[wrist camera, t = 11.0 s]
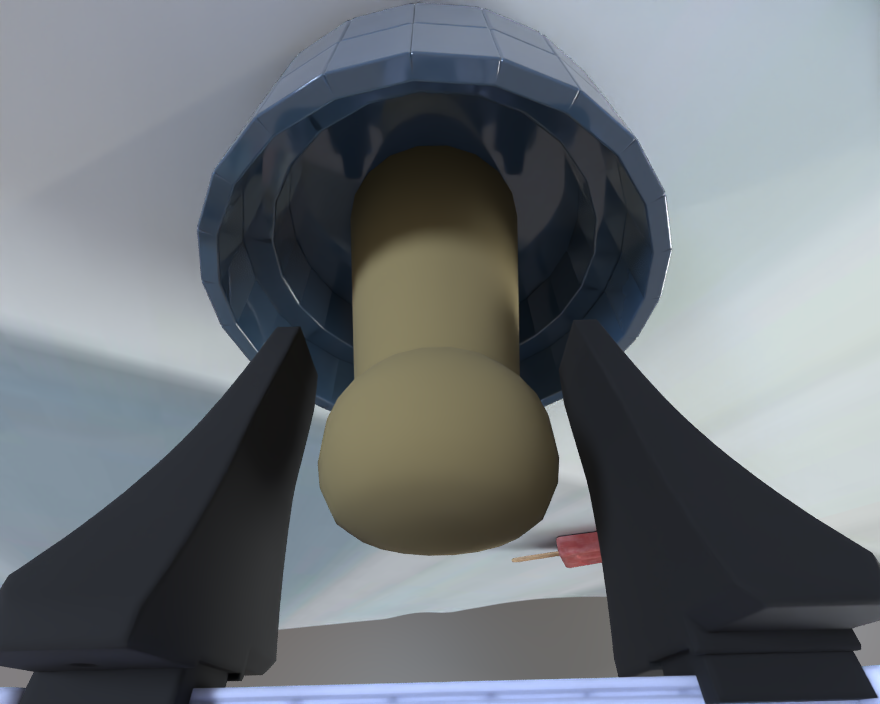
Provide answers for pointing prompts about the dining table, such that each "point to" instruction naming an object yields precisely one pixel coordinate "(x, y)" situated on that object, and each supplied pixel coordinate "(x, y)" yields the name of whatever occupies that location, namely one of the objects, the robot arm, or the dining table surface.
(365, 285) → the cork
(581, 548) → the popsicle
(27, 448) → the dining table surface
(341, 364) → the dark blue bowl
